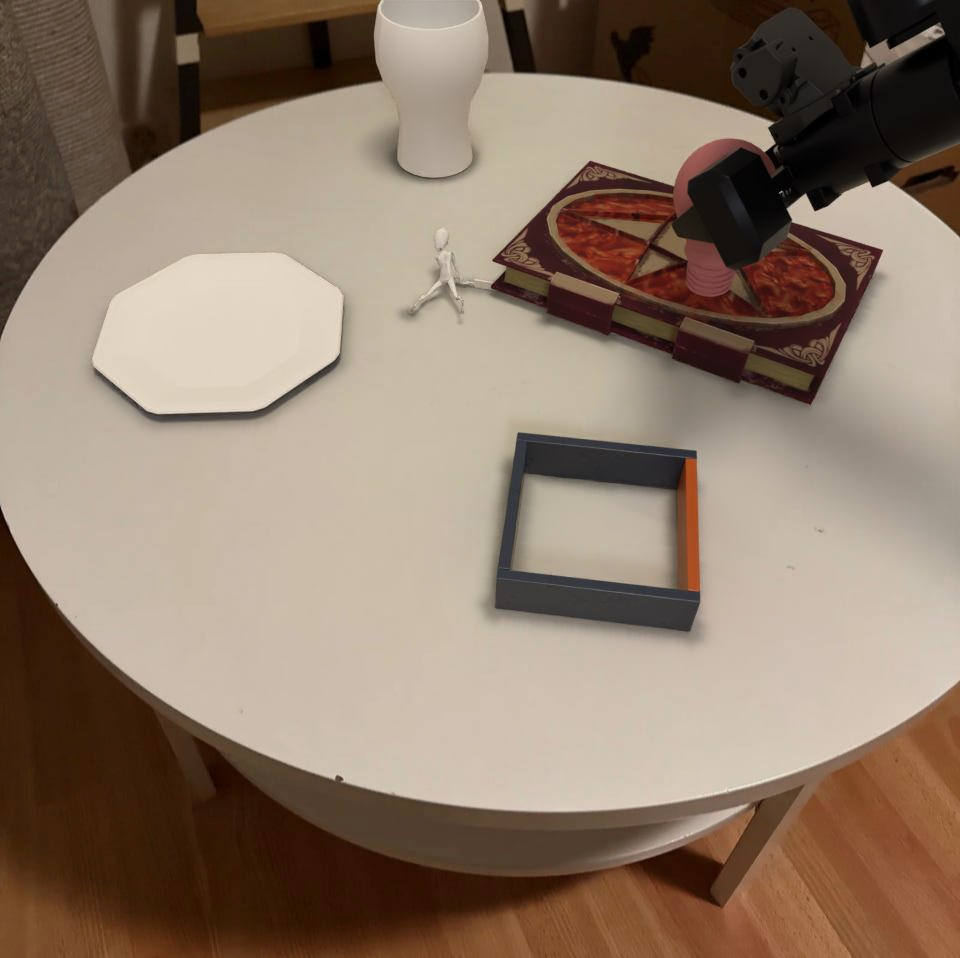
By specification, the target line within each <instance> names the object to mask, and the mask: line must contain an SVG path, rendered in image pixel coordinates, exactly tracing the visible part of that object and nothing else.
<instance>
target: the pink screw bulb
mask: <svg viewBox="0 0 960 958" xmlns="http://www.w3.org/2000/svg"><path fill="white" fill-rule="evenodd" d="M741 147H742V148H744V149H747V150H749V151H752V152H754V153H757V154H759V155H760V156H761V158H762V160H763V162H764V164H765V166H766V168H767V170H768V172H769V174H771V173H773V172H774V171H775V167H774V165H773V163H772V161H771V160H770V158H769V157H768V156H767V155H766V153H765V151H764V150H763V149H762V148H760V147H758V146H757V145H755V144H754V143H752V142H750V141H747V140H744V139H740V138H732V137H731V138H729V137H728V138H727V137H726V138H720V139H715V140H712V141H709V142H708V143H705V144H704V145H701V146H700V147H699V148H697V149H696V150H695V151H693V152H692V153H691V154H690V155H689V156H688V157H687V158H686V159H685V161H684V162H683V164H682V166H681V167H680V168H679V170H678V172H677V175H676V178H675V181H674V185H673V186H674V191H673V200H674V207H675V211H676V214H677V218H678V217H679V216H681V215H682V214H683V213H684V212H685V211H687V210H688V209H689V208H690V207H691V206H692V205H693V203H692V201H691V199H690V197H689V195H688V194H687V188H688V181H689V180H690V179H691V178H693V177H694V176H696V175H697V174H698V173H700V172H701V171H703V170H704V169H705V168H707V167H708V166H710V165H711V164H713V163H714V162H716V161H717V160H719V159H721V158H722V157H723V156H726V155H727V154H729V153H731V152H733V151H735V150H737V149H739V148H741ZM684 251H685V255H686V257H687V258H688V263H687V276H686V285H687V287H688V288H689V289H690V290H691V291H692V292H694V293H696V294H698V295H701V296H707V297H714V296H719V295H722V294H724V293H726V292H727V291H728V290H729V289H730V288H731V286H732V281H733V279H734V275H735V273H736V271H735V270H732V269H730V268H728V267H726V266H725V264H724V262H723V260H722V258H721V256H720V254H719V252H718V251H717V249H716V247H715V245H714V244H712V243H707V242H701V241H696V240H690V239H686V244H685V249H684Z"/></svg>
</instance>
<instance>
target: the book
mask: <svg viewBox="0 0 960 958" xmlns="http://www.w3.org/2000/svg"><path fill="white" fill-rule="evenodd" d="M673 191H674V185H672V184H668V183H665V182H662V181H658V180H655V179H653V178H648V177H646V176H643V175H639V174H636V173H633V172H628V171H625V170H622V169H618V168H616V167H612V166H609V165H606V164H602V163H600V162H596V161H593V160H589V161H588V162H587V163H586V164H585V165H584V166H583V167H582V168H581V169H580V170H579V171H578V172H577V173H576V174H575V175H574V176H573V177H571V179H570V180H569V181H568V182H567V183H566V184H565V185H564V186H563V187H562V188H561V189H560V190H559V191H558V192H557V193H556V194H555V195H554V196H553V197H552V199H551V200H549V201H548V202H547V204H545V206H544V207H542V209H540V210H539V211H538V212H537V213H536V214H535V216H534V217H533V218H531V219H530V221H529V222H527V224H526V225H524V227H523V228H521V230H520V231H519V232H518V233H517V234H516V235H514V237H513V238H512V239H511V240H510V241H509V242H508V243H507V244H506V245H504V247H503V248H502V249H501V250H500V251H499V252H498V253H497V254H496V255H495V256H494V257H493V258H492V260H491V261H492V262H493V263H495V264H498V265H501V266H504V267H505V270H504V271H503V272H502V273H501V274H500V275H499V276H498V277H497V278H496V279H495V281H493V282H494V283H493V284H492V285H491V289H493V290H492V291H494V290H496V291H495V292H499V293H502V294H504V295H507V296H511V297H513V298H515V299H518V300H521V301H524V302H527V303H529V304H532V305H535V306H538V307H540V308H542V309H545V310H546V311H545V312H546V314H547V315H550V316H553V317H555V318H559V319H562V320H564V321H566V322H570V323H572V324H574V325H578V326H580V327H583V328H586V329H589V330H591V331H594V332H596V333H600V334H603V335H605V336H610V335H611V334H614V335H616V336H617V335H618V336H620V337H622V338H626V339H628V340H630V341H633V342H636V343H638V344H642V345H644V346H646V347H647V346H648V347H650V348H652V349H655V350H658V351H661V352H664V353H666V354H669V355H672V356H671V360H672V361H676V362H679V363H681V364H685V365H687V366H689V367H692V368H695V369H698V370H700V371H703V372H705V373H709V374H712V375H713V376H717V377H719V378H722V379H724V380H727V381H730V382H733V383H735V384H741V382H742V381H743V382H746V383H749V384H751V385H755V386H757V387H759V388H763V389H765V390H767V391H771V392H773V393H777V394H779V395H782V396H784V397H787V398H790V399H792V400H795V401H798V402H801V403H803V404H807V405H809V406H812V405H813V402H814V400H815V398H816V396H817V394H818V392H819V390H820V388H821V385H822V383H823V381H824V379H825V377H826V375H827V373H828V371H829V368H830V367H831V364H832V362H833V360H834V358H835V356H836V354H837V352H838V350H839V348H840V346H841V342H842V341H843V339H844V337H845V335H846V333H847V331H848V329H849V327H850V325H851V322H852V320H853V318H854V316H855V314H856V313H857V309H858V307H859V305H860V304H861V301H862V299H863V297H864V295H865V292H866V290H867V289H868V286H869V284H870V282H871V280H872V278H873V276H874V273H875V272H876V269H877V268H878V267H877V266H878V264H879V262H880V259H881V258H882V255H883V253H884V249H882V248H878V247H875V246H872V245H869V244H865V243H862V242H858V241H856V240H852V239H849V238H846V237H842V236H840V235H836V234H833V233H830V232H826V231H823V230H820V229H816V228H813V227H810V226H806V225H803V224H799V223H797V222H793V221H792V222H791V226H790V229H789V233H788V236H787V238H786V239H785V240H784V241H782V242H781V243H780V244H779V245H778V246H776V247H775V248H774V249H773V250H772V251H771V252H769V253H768V254H767V255H766V256H765V257H763V258H762V259H761V260H760V261H759V262H757V263H754V264H751V265H749V266H746V267H743V268H741V269H738V270H736V273H735V275H734V279H733V281H732V286H731V288H730V289H729V290H728V291H727V292H726V293H724V294H722V295H719V296H714V297H707V296H701V295H698V294H696V293H694V292H692V291H691V290H690V289H689V288H688V287H687V285H686V276H687V263H688V258H687V257H686V255H685V251H684V249H685V244H686V239H685V238H680V237H678V236H677V235H676V233H675V232H674V230H673V228H672V225H671V224H672V222H674V221H675V220H676V219H677V214H676V211H675V207H674V200H673Z"/></svg>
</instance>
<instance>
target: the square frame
mask: <svg viewBox="0 0 960 958" xmlns="http://www.w3.org/2000/svg"><path fill="white" fill-rule="evenodd" d="M511 466H512V467H511V473H510V479H509V480H510V481H509V486H508V487H509V488H508V494H507V495H508V496H507V499H506V508H505V514H504V521H503V529H502V535H501V540H500V541H501V542H500V549H499V554H498V563H497V570H496V576H495V596H494V609H497V610H504V611H512V612H513V611H514V612H522V613H530V614H531V613H532V614H539V615H545V616H547V615H548V616H555V617H564V618H573V619H582V620H589V621H598V622H606V623H613V624H623V625H630V626H631V625H632V626H640V627H649V628H657V629H658V628H659V629H666V630H674V631H683V632H691V630H692V627H693V625H694V621H695V620H696V616H697V613H698V610H699V607H700V604H701V573H700V572H701V569H700V566H701V565H700V532H699V531H700V529H699V528H700V527H699V493H698V492H699V491H698V487H699V486H698V451H697V450H696V449H695V450H694V449H684V448H674V447H664V446H657V445H656V446H655V445H645V444H638V443H637V444H636V443H626V442H617V441H606V440H600V439H599V440H598V439H587V438H580V437H579V438H578V437H577V438H576V437H570V436H569V437H568V436H558V435H548V434H541V433H540V434H539V433H538V434H537V433H530V432H522V431H521V432H520V431H517V433H516V439H515V446H514V453H513V460H512V465H511ZM526 474H530V475H539V476H540V475H541V476H549V477H550V476H551V477H558V478H566V479H576V480H577V479H578V480H586V481H595V482H596V481H597V482H605V483H613V484H614V483H615V484H623V485H632V486H633V485H634V486H643V487H651V488H653V487H654V488H661V489H662V488H663V489H670V490H676V545H677V546H676V547H677V551H676V553H677V554H676V555H677V563H676V565H677V567H676V569H677V571H676V572H677V588H668V587H660V586H651V585H643V584H634V583H627V582H626V583H625V582H617V581H607V580H600V579H591V578H582V577H574V576H573V577H572V576H565V575H556V574H547V573H539V572H530V571H521V570H513V567H514V560H515V554H516V545H517V539H518V538H517V537H518V530H519V521H520V515H521V509H522V500H523V492H524V486H525V478H526Z"/></svg>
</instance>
